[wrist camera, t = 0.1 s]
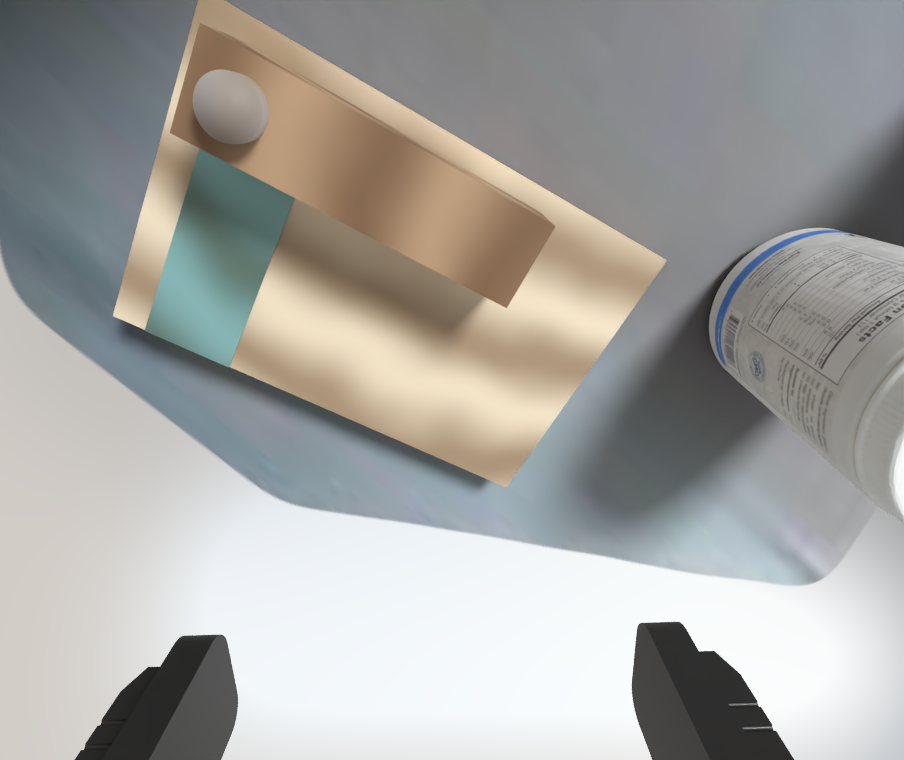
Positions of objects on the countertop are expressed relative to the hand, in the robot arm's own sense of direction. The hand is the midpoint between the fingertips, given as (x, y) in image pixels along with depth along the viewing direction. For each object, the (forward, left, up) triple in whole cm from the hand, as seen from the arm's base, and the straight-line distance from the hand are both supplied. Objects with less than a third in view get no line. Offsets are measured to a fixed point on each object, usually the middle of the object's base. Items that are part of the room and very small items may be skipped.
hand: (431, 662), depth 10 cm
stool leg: (-5, -6, -20) cm, 21 cm away
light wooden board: (0, -3, -22) cm, 23 cm away
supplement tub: (-9, +18, -23) cm, 30 cm away
